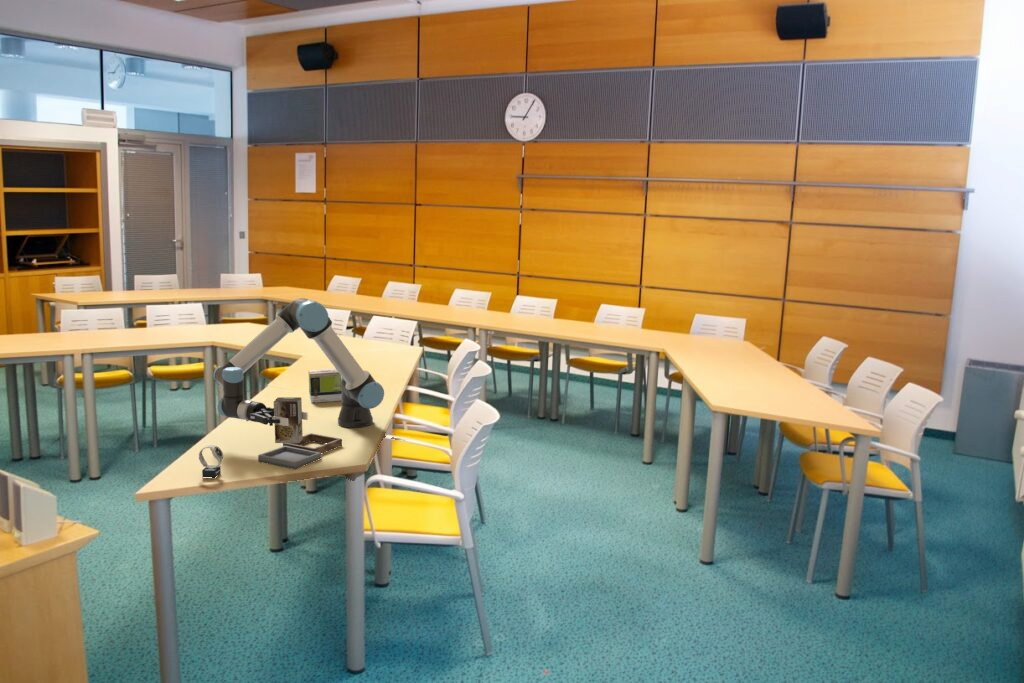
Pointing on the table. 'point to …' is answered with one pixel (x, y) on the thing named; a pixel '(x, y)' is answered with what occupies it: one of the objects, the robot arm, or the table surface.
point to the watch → (211, 469)
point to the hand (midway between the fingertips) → (297, 419)
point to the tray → (289, 457)
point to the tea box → (324, 385)
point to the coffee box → (293, 412)
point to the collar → (330, 441)
